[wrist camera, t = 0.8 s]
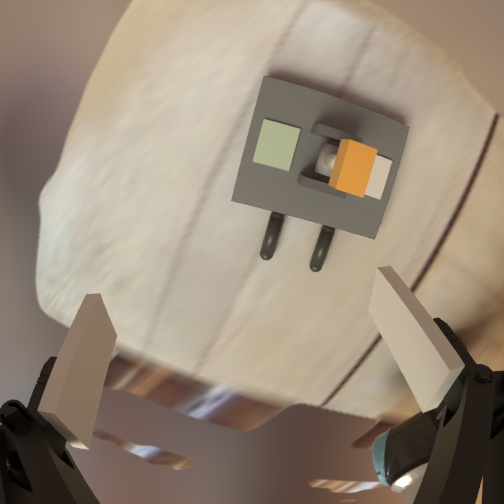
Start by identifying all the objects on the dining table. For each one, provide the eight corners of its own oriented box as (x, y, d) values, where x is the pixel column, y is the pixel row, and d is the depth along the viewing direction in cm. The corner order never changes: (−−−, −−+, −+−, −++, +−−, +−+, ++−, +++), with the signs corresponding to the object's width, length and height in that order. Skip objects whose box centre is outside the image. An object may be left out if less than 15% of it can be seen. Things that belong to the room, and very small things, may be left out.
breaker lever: (341, 145, 39) (377, 149, 26) (331, 180, 40) (363, 198, 28) (321, 139, 38) (349, 139, 26) (311, 173, 40) (335, 189, 28)
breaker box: (400, 127, 40) (422, 126, 34) (351, 277, 49) (364, 298, 43) (263, 79, 39) (265, 69, 32) (220, 246, 48) (215, 264, 41)
